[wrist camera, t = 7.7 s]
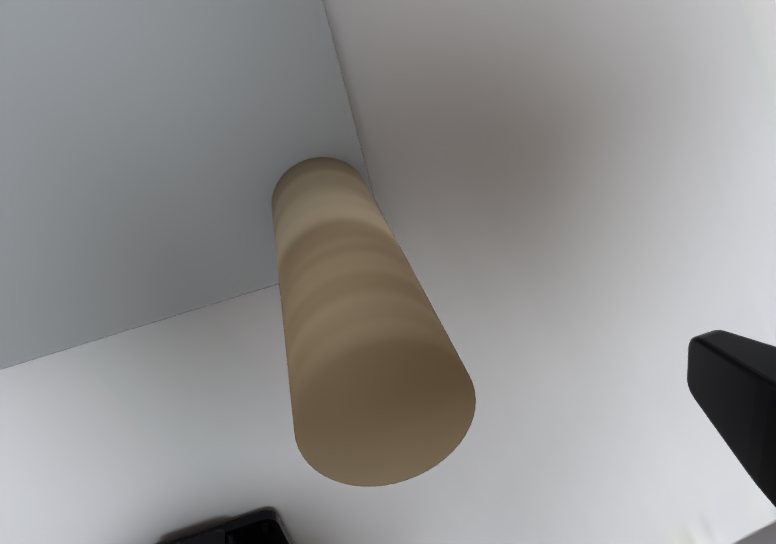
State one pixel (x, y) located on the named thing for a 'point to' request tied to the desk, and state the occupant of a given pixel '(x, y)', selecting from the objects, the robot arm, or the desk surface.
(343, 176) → the dowel
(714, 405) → the robot arm
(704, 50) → the desk surface
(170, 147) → the jig
